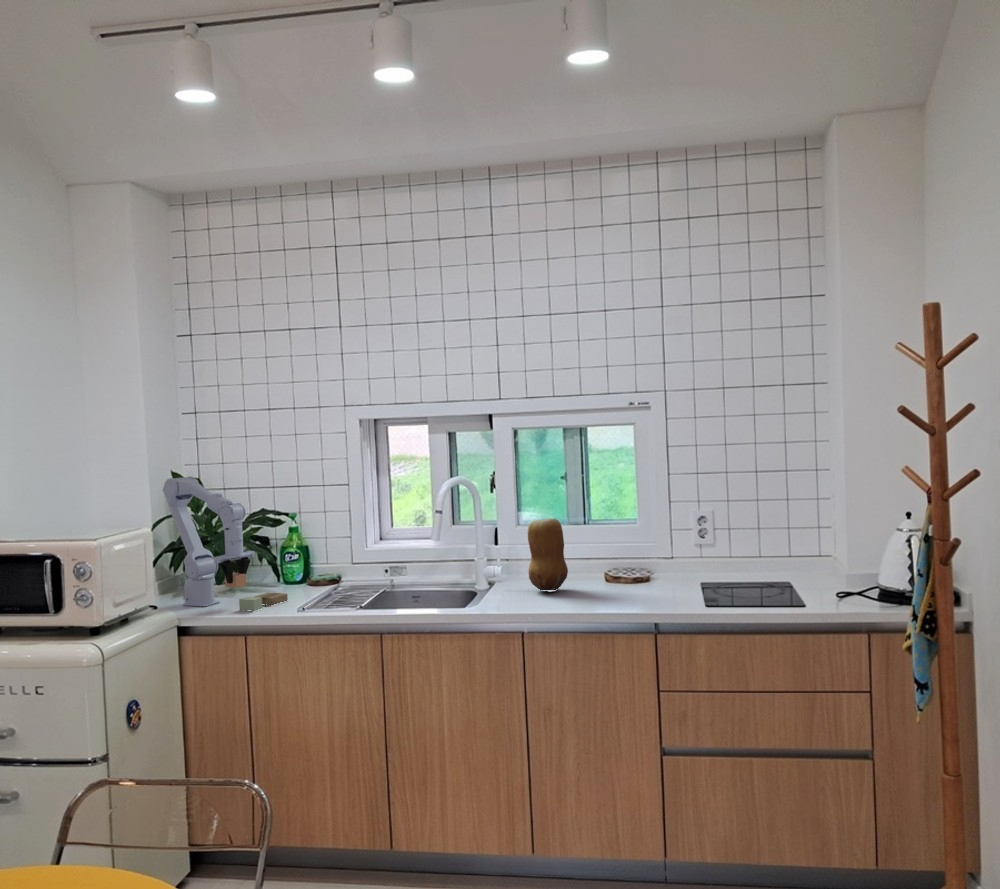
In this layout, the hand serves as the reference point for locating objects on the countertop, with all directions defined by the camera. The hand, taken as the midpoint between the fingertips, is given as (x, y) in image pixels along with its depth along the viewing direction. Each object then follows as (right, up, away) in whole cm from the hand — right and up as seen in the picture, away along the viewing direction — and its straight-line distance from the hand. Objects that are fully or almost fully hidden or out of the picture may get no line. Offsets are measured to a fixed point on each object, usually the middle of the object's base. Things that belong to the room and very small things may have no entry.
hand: (235, 582), depth 314 cm
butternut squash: (+104, -5, +8) cm, 104 cm away
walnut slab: (+10, -8, +6) cm, 14 cm away
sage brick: (+6, -9, -5) cm, 12 cm away
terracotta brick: (0, -1, 0) cm, 1 cm away
